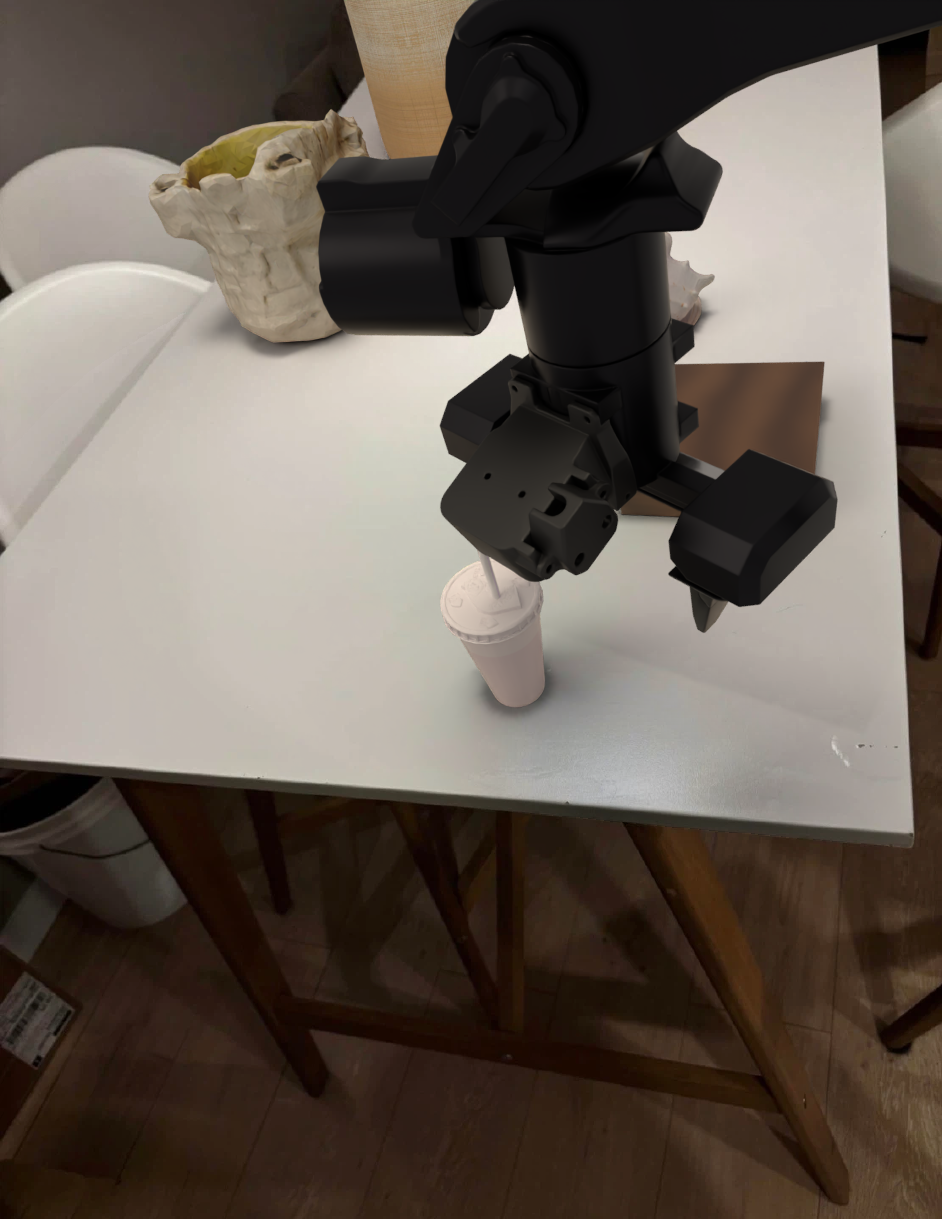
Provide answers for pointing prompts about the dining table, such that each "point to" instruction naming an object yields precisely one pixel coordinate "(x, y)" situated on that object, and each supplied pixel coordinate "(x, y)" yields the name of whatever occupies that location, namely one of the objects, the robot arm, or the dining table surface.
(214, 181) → the ceramic vessel
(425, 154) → the planter
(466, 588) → the smoothie
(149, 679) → the dining table surface
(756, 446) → the wooden jewelry box
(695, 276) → the seashell
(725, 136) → the dining table surface
